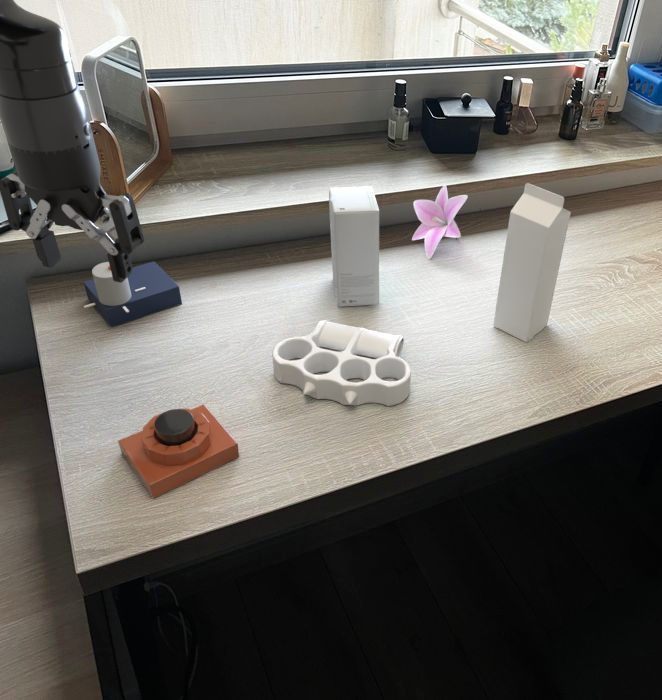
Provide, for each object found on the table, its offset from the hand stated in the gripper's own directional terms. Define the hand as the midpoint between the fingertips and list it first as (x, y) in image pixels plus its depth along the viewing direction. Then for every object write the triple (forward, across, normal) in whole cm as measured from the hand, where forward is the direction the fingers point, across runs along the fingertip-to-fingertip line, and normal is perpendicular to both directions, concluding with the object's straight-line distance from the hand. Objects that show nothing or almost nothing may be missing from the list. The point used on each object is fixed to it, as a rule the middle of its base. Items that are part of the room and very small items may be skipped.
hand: (87, 271), depth 81 cm
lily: (+16, +30, +46) cm, 57 cm away
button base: (+15, +14, -10) cm, 23 cm away
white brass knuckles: (+15, +27, +9) cm, 32 cm away
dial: (+12, -6, +11) cm, 17 cm away
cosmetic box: (+16, +22, +28) cm, 39 cm away
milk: (+16, +48, +28) cm, 57 cm away
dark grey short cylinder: (+12, +15, -10) cm, 21 cm away
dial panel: (+15, -6, +13) cm, 21 cm away
